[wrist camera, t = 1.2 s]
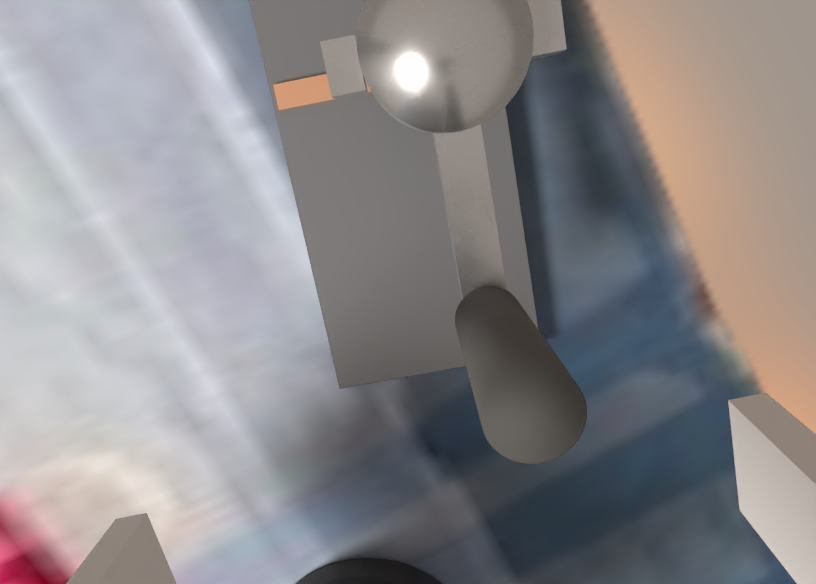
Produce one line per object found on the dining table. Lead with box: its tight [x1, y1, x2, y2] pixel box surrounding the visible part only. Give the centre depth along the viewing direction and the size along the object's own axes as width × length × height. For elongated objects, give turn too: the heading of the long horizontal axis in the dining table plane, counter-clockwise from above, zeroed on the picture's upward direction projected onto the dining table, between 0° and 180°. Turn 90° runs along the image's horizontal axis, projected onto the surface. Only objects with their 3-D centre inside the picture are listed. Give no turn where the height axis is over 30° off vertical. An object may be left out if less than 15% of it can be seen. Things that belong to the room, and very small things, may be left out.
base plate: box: [249, 0, 538, 389], centre depth 34 cm, size 24×13×6 cm, turn 11°
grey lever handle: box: [320, 0, 587, 464], centre depth 24 cm, size 18×11×14 cm, turn 11°
